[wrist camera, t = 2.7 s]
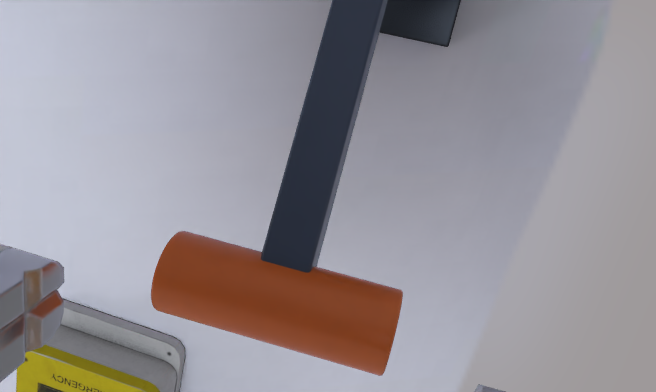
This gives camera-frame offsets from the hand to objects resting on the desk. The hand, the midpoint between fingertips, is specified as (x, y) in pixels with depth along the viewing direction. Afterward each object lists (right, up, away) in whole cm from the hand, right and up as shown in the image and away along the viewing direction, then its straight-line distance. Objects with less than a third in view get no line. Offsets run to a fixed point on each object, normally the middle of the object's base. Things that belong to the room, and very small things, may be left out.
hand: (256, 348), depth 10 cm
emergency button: (-13, -11, +26) cm, 32 cm away
